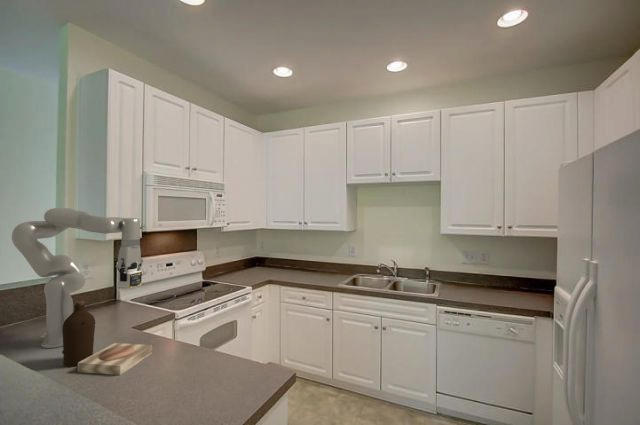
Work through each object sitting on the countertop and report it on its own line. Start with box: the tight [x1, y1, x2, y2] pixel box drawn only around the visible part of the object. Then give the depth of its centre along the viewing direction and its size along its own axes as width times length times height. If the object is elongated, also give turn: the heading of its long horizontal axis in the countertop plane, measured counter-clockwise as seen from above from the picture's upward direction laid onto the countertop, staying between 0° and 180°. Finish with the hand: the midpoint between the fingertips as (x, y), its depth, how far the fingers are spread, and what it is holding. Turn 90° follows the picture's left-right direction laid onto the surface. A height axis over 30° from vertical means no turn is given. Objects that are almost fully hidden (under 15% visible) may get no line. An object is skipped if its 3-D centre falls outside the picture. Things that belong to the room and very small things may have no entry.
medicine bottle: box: [117, 262, 143, 289], centre depth 143 cm, size 7×7×12 cm
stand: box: [77, 342, 153, 376], centre depth 122 cm, size 18×18×4 cm
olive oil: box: [61, 299, 96, 368], centre depth 122 cm, size 11×11×25 cm
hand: (129, 279), depth 143 cm, fingers closed on medicine bottle, 7 cm apart
